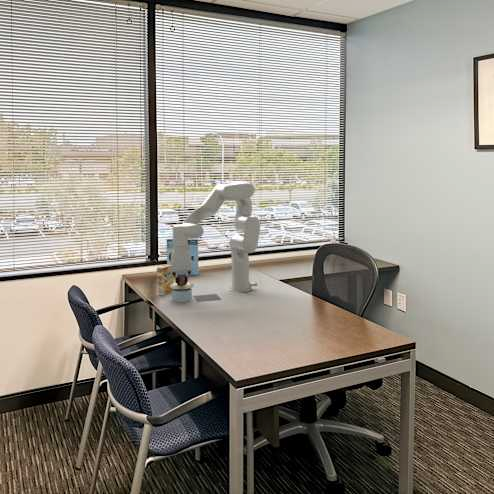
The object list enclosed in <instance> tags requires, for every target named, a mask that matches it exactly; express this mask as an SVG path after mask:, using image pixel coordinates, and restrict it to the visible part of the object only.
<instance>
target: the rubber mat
mask: <svg viewBox="0 0 494 494" xmlns="http://www.w3.org/2000/svg"><path fill="white" fill-rule="evenodd" d="M192 298H194V300H195V301H196V302H197V303H202V302H211V301H212V302H213V301H222V300H223V299H222V298H221V297H220V296H219V295H218V294H217V293H210V294H209V293H208V294H201V295H192Z"/></svg>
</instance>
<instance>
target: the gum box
mask: <svg viewBox="0 0 494 494" xmlns="http://www.w3.org/2000/svg"><path fill="white" fill-rule="evenodd" d="M188 246H191V249H189V250H188V251H189V252H190V257H191V265H192V267H193V268H194V271H193V272H191V273H190V274H189V275H188V276H198V275H199V238H188ZM172 251H173V238H167V239H166V265H171V254H172ZM173 272H174V273H175V271H173ZM178 274H185V271H178Z"/></svg>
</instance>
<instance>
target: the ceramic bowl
mask: <svg viewBox="0 0 494 494" xmlns="http://www.w3.org/2000/svg"><path fill="white" fill-rule="evenodd" d="M192 300H193V289H192V288H188V289H172V292H171V301H172V302H175V303H176V302H177V303H185V302H187V303H188V302H190V301H192Z"/></svg>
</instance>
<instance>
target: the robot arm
mask: <svg viewBox="0 0 494 494" xmlns="http://www.w3.org/2000/svg"><path fill="white" fill-rule="evenodd" d="M254 194H255V186H254V185H253V183H251V182H248V181H234V182H231V183H229V184H227V183H225V184H224V183H220V184H217V185H215V186H214V188H213V189H212V190H211V192H210V193H209V194H208V195H207V197H206V199H205V200H204V201H203V202H202V204H200V205H199V206H198V207H197V208H195V209H194V210H192V211H191V213H189V215H187V216H186V219H184V221H183V222H182V224H174V225H173V226H172V239H173V251H172V254H171V267H170V268H169V270H168V272H169V273H171V274H173V277H174V278H175V279H174V280H175V283H177V285H179V277H178V271H185V284H187V282H188V283H189V278H188V277H189V276H190V275H189V274H190V273H191V272H193V271H194V268H193V267H192V265H191V257H190V252H189V251H188V250H189V249H191V246H188V239H199V238H201V237H203V234H204V233H205V232H204V231H205V230H204V228H203V226H202V225H200V223H201V222H202V221H204V220H206V219H207V218H208V219H209V218H211V217H213V216H215V215H216V214H217V212H218V211H219V209H220V208H221V207H222V205H223V204H224V203H225V201H228V202H229V201H231V202H234V201H235V203H236V211H235V219H234V227H235V230H237V231H239V232H241V233H235V234H233V235H232V236H231V237H230V239H229V248H230V253H231V255H230V256H231V286H230V287H229V288H228V289H229V291H230V292H236V293H248V292H251V291H252V289H253V288H252V287H258V282H253V281H252V282H251V281H250V266H249V265H250V264H249V263H250V259H249V254H252V253H254V252H256V250H257V249H258V244H259V239H260V230H261V223H260V219H259V218H258V217H257V216H255V215H252V213H253V203H252V199H251V198H252V197H253V195H254ZM242 232H243V233H242ZM172 270H173V271H175V273H174V272H173V271H172Z"/></svg>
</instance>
